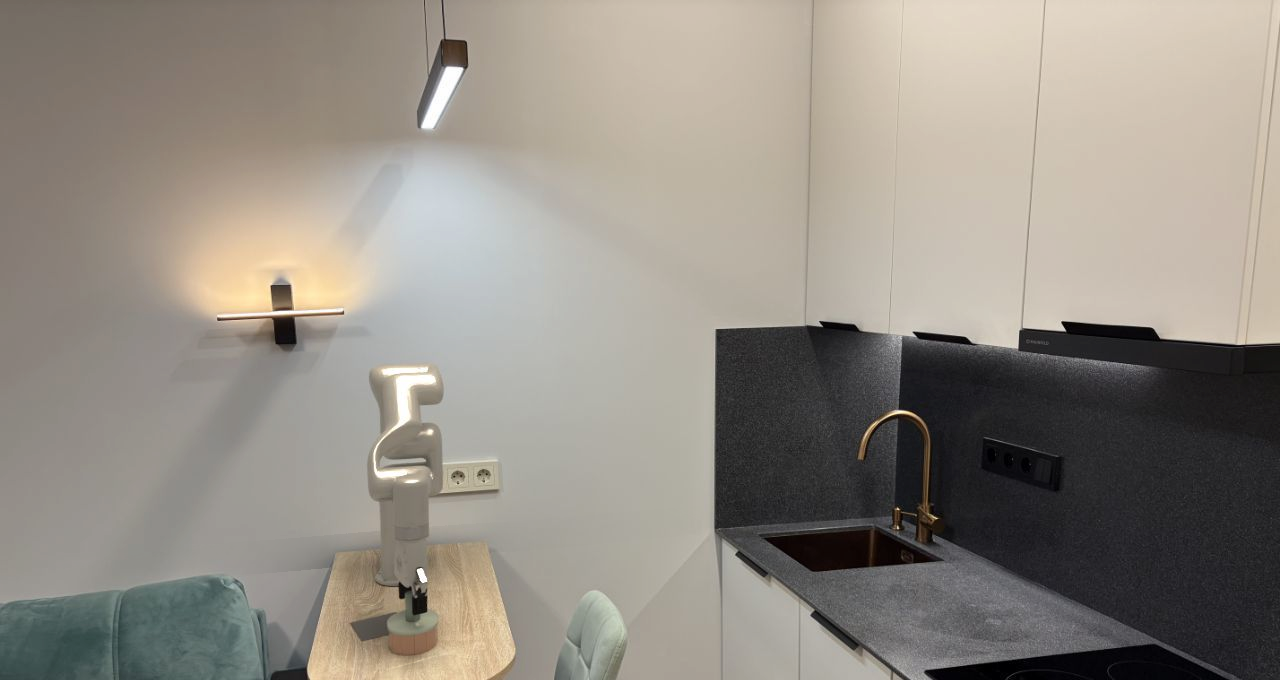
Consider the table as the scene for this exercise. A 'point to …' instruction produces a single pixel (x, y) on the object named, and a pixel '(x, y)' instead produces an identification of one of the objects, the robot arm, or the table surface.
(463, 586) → the table surface
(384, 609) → the table surface
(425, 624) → the lid
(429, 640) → the bowl
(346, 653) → the table surface
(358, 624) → the mat
